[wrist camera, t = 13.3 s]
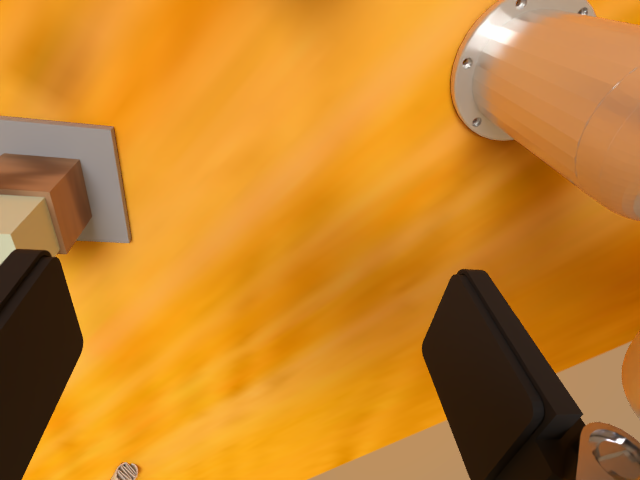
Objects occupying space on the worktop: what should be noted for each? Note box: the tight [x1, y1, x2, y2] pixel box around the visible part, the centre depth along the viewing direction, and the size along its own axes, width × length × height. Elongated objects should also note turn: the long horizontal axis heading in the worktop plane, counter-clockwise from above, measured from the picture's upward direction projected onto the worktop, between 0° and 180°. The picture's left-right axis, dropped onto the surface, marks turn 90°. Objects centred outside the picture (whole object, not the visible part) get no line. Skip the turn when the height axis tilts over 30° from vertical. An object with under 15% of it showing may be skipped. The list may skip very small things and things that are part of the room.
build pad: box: [0, 116, 131, 243], centre depth 37 cm, size 12×12×1 cm
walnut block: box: [0, 153, 92, 254], centre depth 34 cm, size 6×6×6 cm
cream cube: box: [0, 195, 60, 265], centre depth 29 cm, size 5×5×5 cm
